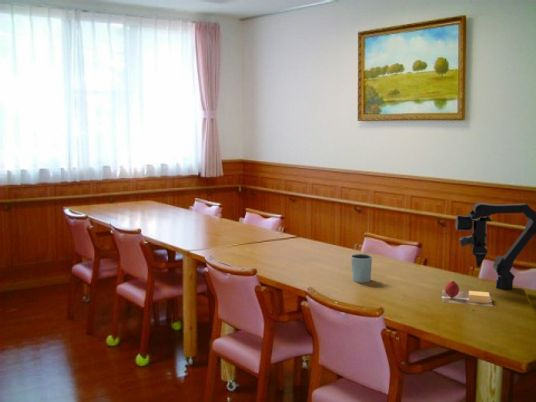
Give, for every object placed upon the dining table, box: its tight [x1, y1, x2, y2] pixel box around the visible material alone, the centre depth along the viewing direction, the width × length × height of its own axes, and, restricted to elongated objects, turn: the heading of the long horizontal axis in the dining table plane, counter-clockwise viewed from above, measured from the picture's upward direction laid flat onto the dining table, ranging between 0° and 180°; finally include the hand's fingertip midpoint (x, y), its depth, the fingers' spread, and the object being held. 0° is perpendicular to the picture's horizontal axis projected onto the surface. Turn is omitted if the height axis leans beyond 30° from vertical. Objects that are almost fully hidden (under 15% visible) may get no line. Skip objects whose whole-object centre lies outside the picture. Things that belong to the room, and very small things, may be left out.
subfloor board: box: [441, 289, 493, 307], centre depth 253 cm, size 20×18×2 cm
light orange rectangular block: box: [468, 290, 490, 303], centre depth 248 cm, size 8×6×3 cm
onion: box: [444, 279, 460, 298], centre depth 252 cm, size 6×6×8 cm
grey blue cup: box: [350, 253, 373, 284], centre depth 285 cm, size 10×10×12 cm
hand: (477, 264), depth 267 cm, fingers open, 9 cm apart
